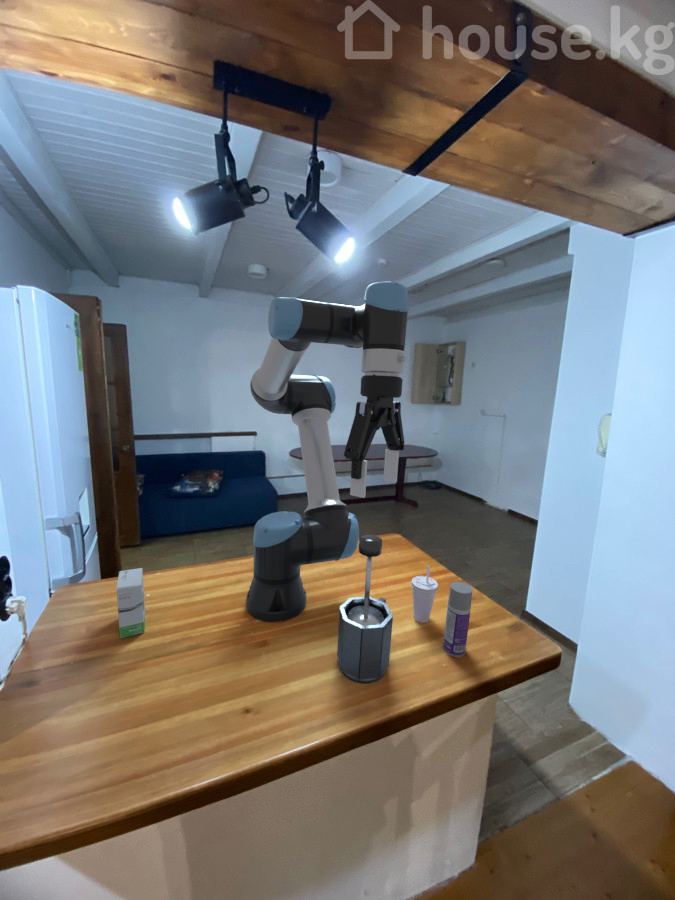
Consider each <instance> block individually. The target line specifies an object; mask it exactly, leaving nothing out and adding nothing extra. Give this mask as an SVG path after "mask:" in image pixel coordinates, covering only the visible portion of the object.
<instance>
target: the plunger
mask: <svg viewBox="0 0 675 900" xmlns="http://www.w3.org/2000/svg"><path fill="white" fill-rule="evenodd" d="M382 548H383V539H382V538H381V537H379V536H377V535H373V534H364V535H361V536H359V540H358V552H359V554H360V555H363V556H365V557H366V566H365V567H366V569H365V581H364V582H365V584H364V596H363V597H364V605H361V606H356V607H353V608H352V609H350V610H349V612H348V619H349V620H351V621H354V622H356V623H358V624H360V625H362V626H367V625H379V624H381V623H382V622H383V621H384V617H383V614H382V613H381V612H380V611H379V610H378V609H376V608H374V607H371V606H369V597H371V596H370V594H371V593H370V592H371V583H372V582H371V581H372V580H371V579H372V578H371V577H372V566H373V558H375V557H379V556H381V554H382V552H383V551H382Z"/></svg>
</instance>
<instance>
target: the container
mask: <svg viewBox="0 0 675 900" xmlns="http://www.w3.org/2000/svg"><path fill="white" fill-rule="evenodd" d="M449 587H450V588H449V593H448V594H449V595H448V601H447V609H446V616H445V618H446V619H445V626H444V634H443V643H442V644H443V646H442V649H443V651H444V652H445V653H446V654H448V655H449V656H450V657H454V658H461V657H463V656H465V654H466V649H467V642H468V641H467V640H468V634H469V625H470V617H471V610H472V609H471V607H472V599H473V587H472V586H471V585H469V584H467V583H465V582H463V581H462V582H460V581H456V582H452V583H450V586H449Z"/></svg>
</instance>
